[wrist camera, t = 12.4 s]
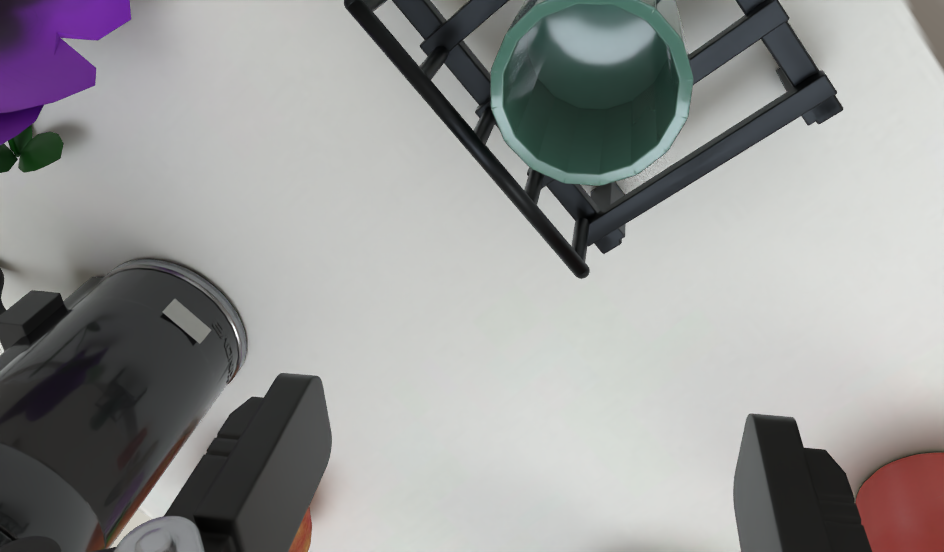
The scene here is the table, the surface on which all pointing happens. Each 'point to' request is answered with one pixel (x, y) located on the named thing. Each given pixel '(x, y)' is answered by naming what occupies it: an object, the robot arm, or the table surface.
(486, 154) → the rack
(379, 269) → the table surface
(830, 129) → the table surface
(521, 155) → the green mug
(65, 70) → the flower
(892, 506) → the flower pot
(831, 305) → the table surface
